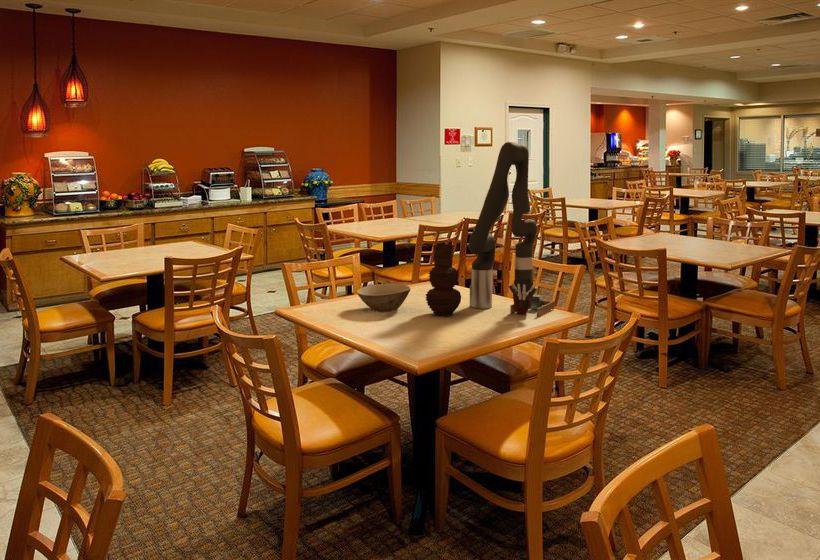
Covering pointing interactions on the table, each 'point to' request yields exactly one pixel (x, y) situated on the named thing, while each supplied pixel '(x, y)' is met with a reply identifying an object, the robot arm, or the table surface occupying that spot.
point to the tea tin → (536, 302)
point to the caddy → (540, 311)
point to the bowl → (384, 296)
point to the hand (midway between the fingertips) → (523, 308)
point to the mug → (517, 307)
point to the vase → (443, 282)
